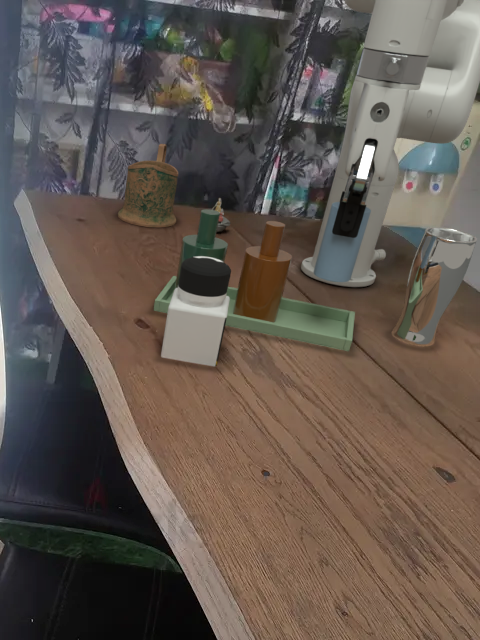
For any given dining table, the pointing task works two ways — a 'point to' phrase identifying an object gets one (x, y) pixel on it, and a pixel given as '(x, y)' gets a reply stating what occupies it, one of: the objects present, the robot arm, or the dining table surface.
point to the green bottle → (203, 241)
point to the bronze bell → (150, 192)
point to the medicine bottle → (197, 312)
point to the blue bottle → (338, 250)
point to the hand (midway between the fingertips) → (345, 228)
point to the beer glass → (433, 283)
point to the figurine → (221, 217)
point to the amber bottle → (263, 276)
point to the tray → (287, 320)
